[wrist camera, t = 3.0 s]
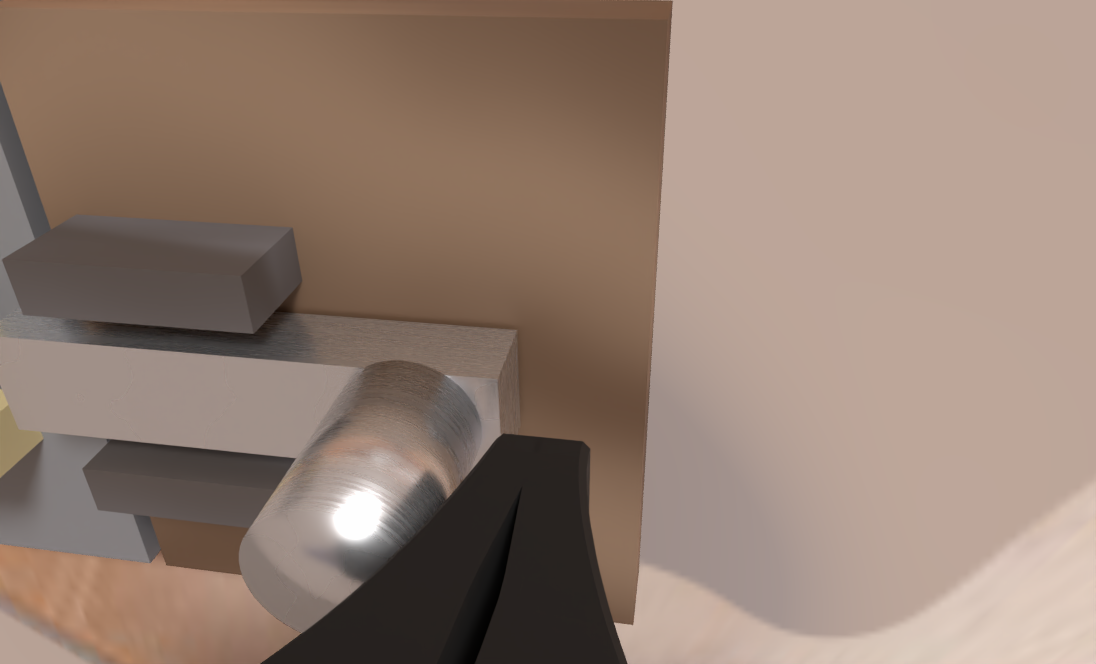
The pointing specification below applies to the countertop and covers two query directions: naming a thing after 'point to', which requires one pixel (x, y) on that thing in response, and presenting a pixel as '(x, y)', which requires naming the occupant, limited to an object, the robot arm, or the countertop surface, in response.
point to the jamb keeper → (40, 457)
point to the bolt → (287, 424)
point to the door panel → (353, 208)
